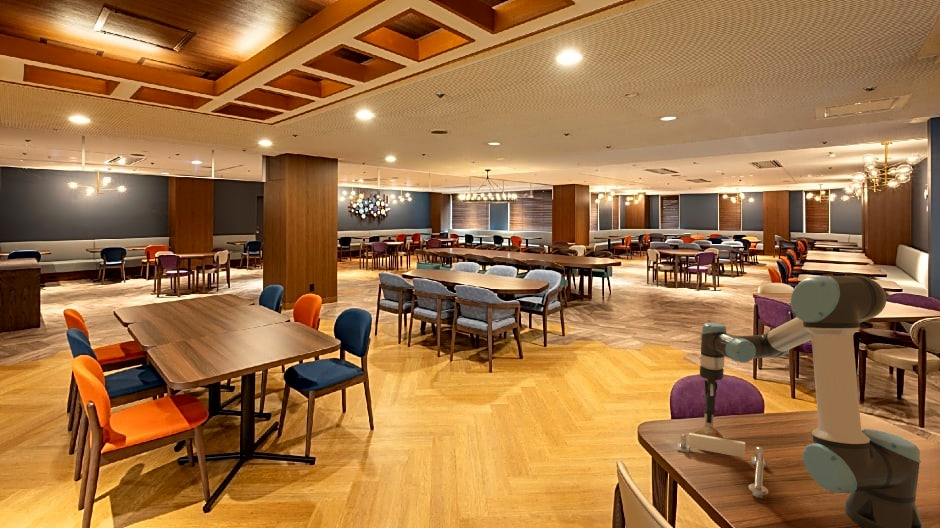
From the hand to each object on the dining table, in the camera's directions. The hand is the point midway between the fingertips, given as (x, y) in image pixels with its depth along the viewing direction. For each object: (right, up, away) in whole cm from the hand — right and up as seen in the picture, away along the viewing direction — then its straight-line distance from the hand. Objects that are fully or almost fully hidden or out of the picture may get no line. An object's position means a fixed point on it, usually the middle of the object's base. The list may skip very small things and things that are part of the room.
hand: (708, 430), depth 168 cm
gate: (-4, -3, -12) cm, 13 cm away
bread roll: (-3, -4, -5) cm, 6 cm away
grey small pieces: (-3, -4, -13) cm, 14 cm away
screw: (-4, -6, -35) cm, 36 cm away
